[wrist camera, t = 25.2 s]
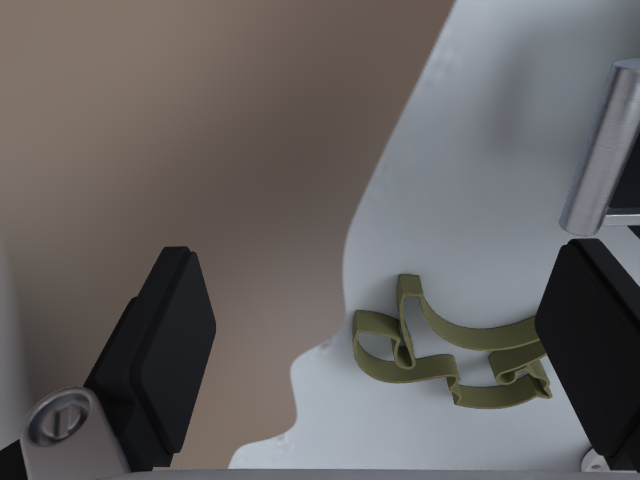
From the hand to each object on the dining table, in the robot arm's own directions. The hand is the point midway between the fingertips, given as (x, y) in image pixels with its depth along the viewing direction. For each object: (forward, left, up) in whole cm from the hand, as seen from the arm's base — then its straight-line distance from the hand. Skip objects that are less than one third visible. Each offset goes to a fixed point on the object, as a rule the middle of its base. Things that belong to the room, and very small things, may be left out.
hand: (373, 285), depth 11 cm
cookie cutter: (-13, -17, -16) cm, 27 cm away
